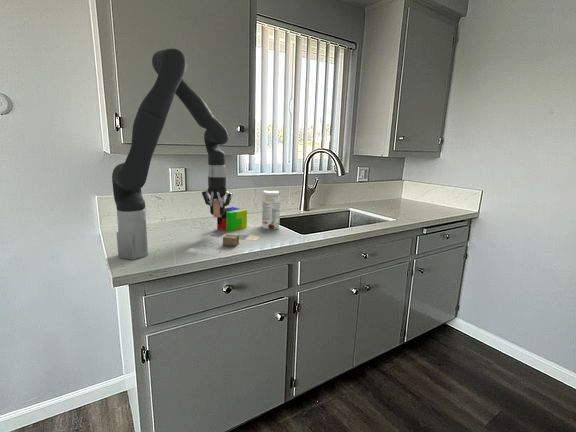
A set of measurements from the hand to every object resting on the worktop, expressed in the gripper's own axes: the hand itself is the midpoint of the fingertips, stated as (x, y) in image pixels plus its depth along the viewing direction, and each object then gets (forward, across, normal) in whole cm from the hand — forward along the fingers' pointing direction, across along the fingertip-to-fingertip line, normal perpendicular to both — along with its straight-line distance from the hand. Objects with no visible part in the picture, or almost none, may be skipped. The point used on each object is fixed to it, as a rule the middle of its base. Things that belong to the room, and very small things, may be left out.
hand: (217, 214), depth 143 cm
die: (+10, +11, -12) cm, 19 cm away
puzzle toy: (+11, +1, +14) cm, 18 cm away
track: (+10, +8, 0) cm, 13 cm away
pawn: (+1, 0, 0) cm, 1 cm away
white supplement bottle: (+11, +18, +21) cm, 30 cm away
